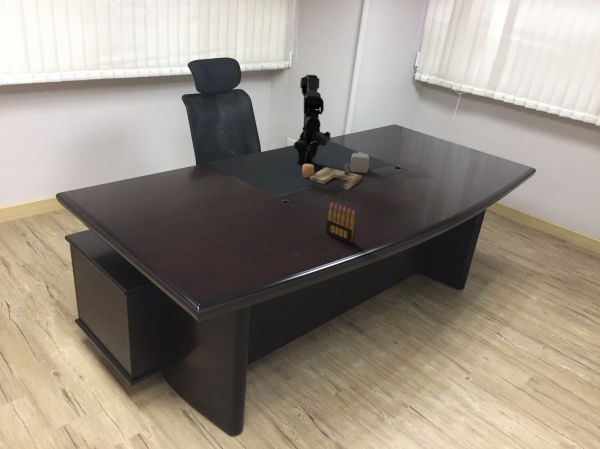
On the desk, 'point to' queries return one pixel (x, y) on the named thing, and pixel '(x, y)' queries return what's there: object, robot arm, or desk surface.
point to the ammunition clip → (341, 223)
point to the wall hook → (359, 162)
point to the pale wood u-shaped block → (336, 176)
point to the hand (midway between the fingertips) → (308, 160)
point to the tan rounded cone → (307, 170)
